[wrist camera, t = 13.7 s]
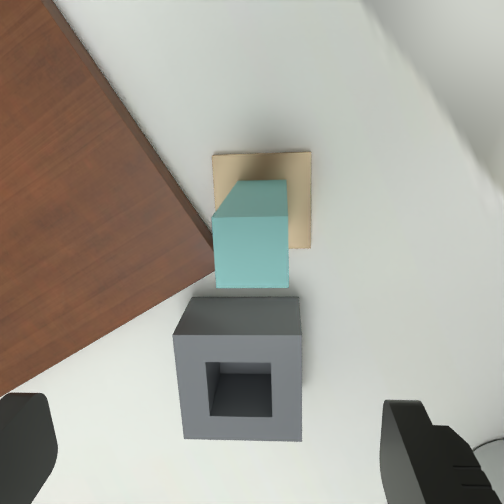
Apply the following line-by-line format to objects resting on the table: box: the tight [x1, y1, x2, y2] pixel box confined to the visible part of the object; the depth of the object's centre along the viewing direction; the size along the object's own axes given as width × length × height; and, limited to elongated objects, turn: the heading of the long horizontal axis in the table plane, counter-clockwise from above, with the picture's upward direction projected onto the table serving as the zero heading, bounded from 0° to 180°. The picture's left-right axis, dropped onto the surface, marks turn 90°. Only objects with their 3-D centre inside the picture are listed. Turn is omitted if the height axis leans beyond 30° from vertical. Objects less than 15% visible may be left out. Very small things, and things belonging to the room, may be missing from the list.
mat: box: [212, 152, 311, 249], centre depth 35 cm, size 8×8×1 cm
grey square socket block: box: [173, 297, 302, 442], centre depth 36 cm, size 10×10×7 cm
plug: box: [212, 180, 289, 288], centre depth 28 cm, size 4×4×13 cm
